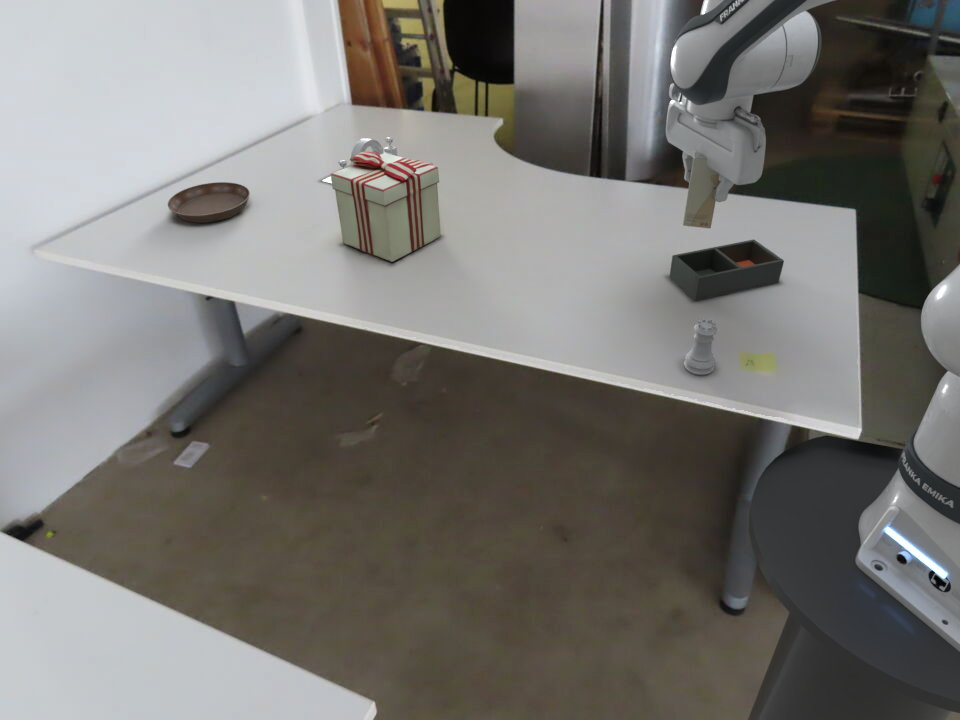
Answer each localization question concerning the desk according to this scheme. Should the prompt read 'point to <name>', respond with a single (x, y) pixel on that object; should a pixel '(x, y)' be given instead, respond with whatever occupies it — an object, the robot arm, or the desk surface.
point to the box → (700, 194)
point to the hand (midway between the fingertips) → (704, 190)
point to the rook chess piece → (701, 349)
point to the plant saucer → (209, 201)
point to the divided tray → (725, 269)
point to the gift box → (387, 204)
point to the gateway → (362, 146)
